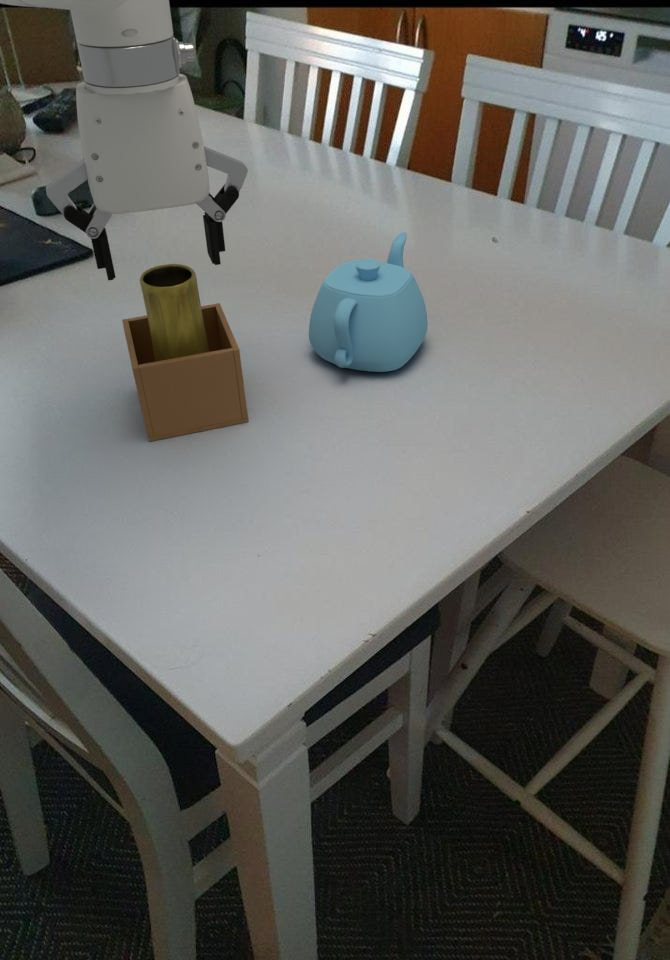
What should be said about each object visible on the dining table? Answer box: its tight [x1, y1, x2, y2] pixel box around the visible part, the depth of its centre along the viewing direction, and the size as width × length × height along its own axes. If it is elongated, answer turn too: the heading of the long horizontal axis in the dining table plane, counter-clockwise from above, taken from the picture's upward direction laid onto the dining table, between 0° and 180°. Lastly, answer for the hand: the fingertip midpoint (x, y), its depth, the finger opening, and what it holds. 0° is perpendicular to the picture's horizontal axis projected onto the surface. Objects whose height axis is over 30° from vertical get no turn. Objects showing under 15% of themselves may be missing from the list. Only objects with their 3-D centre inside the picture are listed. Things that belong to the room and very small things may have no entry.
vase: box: [139, 263, 209, 362], centre depth 81 cm, size 6×6×14 cm
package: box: [121, 302, 249, 443], centre depth 83 cm, size 10×10×8 cm
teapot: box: [308, 232, 429, 373], centre depth 90 cm, size 13×11×18 cm
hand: (163, 266), depth 75 cm, fingers open, 9 cm apart
